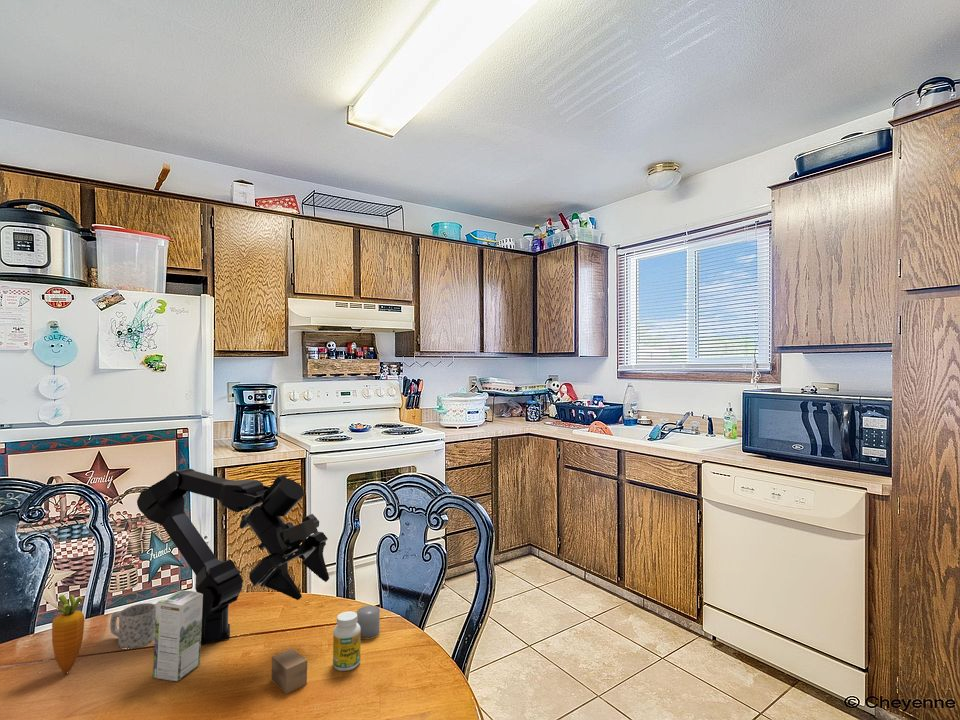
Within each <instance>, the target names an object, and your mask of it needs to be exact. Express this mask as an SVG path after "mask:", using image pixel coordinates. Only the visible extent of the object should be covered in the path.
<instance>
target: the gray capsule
mask: <svg viewBox="0 0 960 720" xmlns="http://www.w3.org/2000/svg"><path fill="white" fill-rule="evenodd" d="M356 613H357V623H358V624H359V625H360V628H361V638H371V639H373V638H372V637H374V636H376V635H377V636H378V635H380V625H381V624H380V620H381V619H380V616H381V615H380V613H381V609H380V608H379V607H378V606H376V605H365V606H362V607H360V608H358V609H357V611H356ZM377 636H376V637H377ZM374 638H375V637H374Z"/></svg>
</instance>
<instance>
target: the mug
mask: <svg viewBox="0 0 960 720" xmlns="http://www.w3.org/2000/svg"><path fill="white" fill-rule="evenodd" d="M155 620H156V603H152V602H145V603H144V602H143V603H138V604H132V605H131V606H128V607H126V608H123V609H122V610H121V611H115V612H113V613H112V614H111V616H110V627H109V628H110V632H111V634H112V635H114V636H116V637H117V638H118V639H117V640H118V643H117V644H118V645H117V646H119V647H120V648H119V647H118V648H119V649H121V648H127V649H126V650H132V649H131V648H135V649H138V647H139V648H141V646H142V647H144V646H147V645H149V644H151V643H152V642H153V641H155ZM117 621H118V623H119V624H118V625H117ZM128 648H129V649H128Z"/></svg>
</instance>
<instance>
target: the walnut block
mask: <svg viewBox="0 0 960 720" xmlns="http://www.w3.org/2000/svg"><path fill="white" fill-rule="evenodd" d="M270 676H271V681H272V683H274V684H275V685H276V686H277V687H278V688H279V690H282V692H283V693H284V694H286V695H287V694H289V693H291V692H293V691H295V690H297V689H299V688H302V687H304V686H306V685H307V684H308V681H307V680H308V659H306V658H305V657H304V656H303V655H301V654H300V653H299V652H297V650H295V649H294V648H293V647H291V648H289V649H287V650H283V651H281V652H279V653H277V654H274V655H272V656H271V675H270Z"/></svg>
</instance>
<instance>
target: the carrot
mask: <svg viewBox="0 0 960 720" xmlns="http://www.w3.org/2000/svg"><path fill="white" fill-rule="evenodd" d="M68 598H69V601H68V599H67V597H66V596H65V595H64V594H61V595H58V600H59V601H60V603H61V604H62V606H61V605H59V606H57V607H56V609H57V610H59V611H61V613H60V614H59V615H57V616H56V617H54V618H53V620H52V623H51V636H52V637H51V638H52V639H51V641H52V643H51V644H52V650H53V654H54V658H55V661H56V663H57V664H58V667H59V669H60V670H61V671H62V673H63V674H68V673H69V672H71V669H72V668H73V666H74V664H75V663H76V661H77V659H78V657H79V655H80V650H81V647H82V643H83V639H84V629H85V614H84V613H83V611H82V610H77V607H78V606H79V604H80V602H81V601H82V600H83V597H82V596H78V597H77V598H75V595H73V594H72V595H69V596H68ZM69 602H70V603H69ZM67 672H68V673H67Z"/></svg>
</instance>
